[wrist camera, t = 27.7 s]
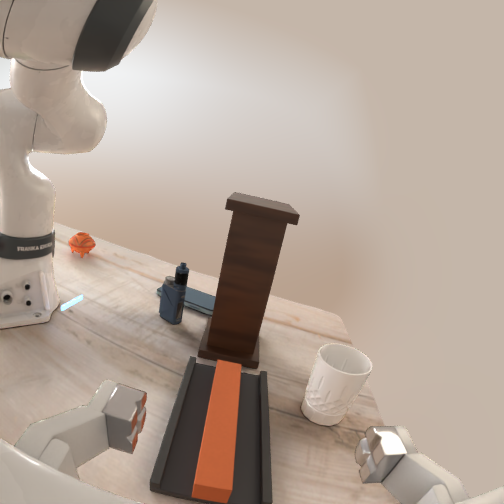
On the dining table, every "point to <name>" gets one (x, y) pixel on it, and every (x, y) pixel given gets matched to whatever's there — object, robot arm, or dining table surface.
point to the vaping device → (174, 295)
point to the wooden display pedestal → (245, 278)
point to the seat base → (191, 432)
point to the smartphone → (197, 300)
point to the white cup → (334, 383)
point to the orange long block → (219, 436)
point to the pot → (81, 243)
